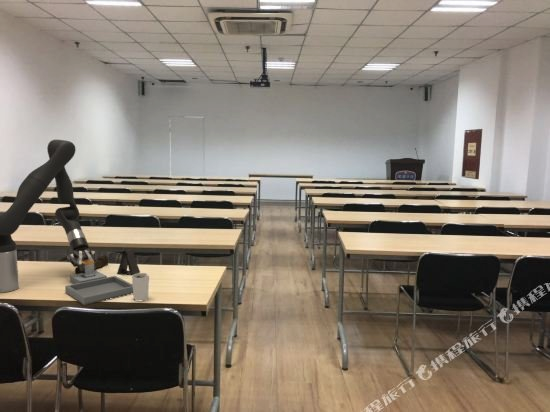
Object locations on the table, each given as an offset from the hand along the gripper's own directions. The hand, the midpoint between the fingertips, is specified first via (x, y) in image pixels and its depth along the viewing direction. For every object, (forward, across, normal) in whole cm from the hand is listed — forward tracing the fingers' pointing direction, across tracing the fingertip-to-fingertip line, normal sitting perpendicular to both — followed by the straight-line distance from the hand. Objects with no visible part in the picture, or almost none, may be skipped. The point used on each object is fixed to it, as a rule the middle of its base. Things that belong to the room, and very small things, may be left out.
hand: (88, 271), depth 198 cm
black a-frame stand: (+2, +20, +5) cm, 21 cm away
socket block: (+3, 0, +4) cm, 5 cm away
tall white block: (+3, 0, +4) cm, 5 cm away
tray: (+16, -2, -8) cm, 18 cm away
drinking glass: (+29, +7, -21) cm, 36 cm away
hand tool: (-10, +10, +18) cm, 23 cm away
